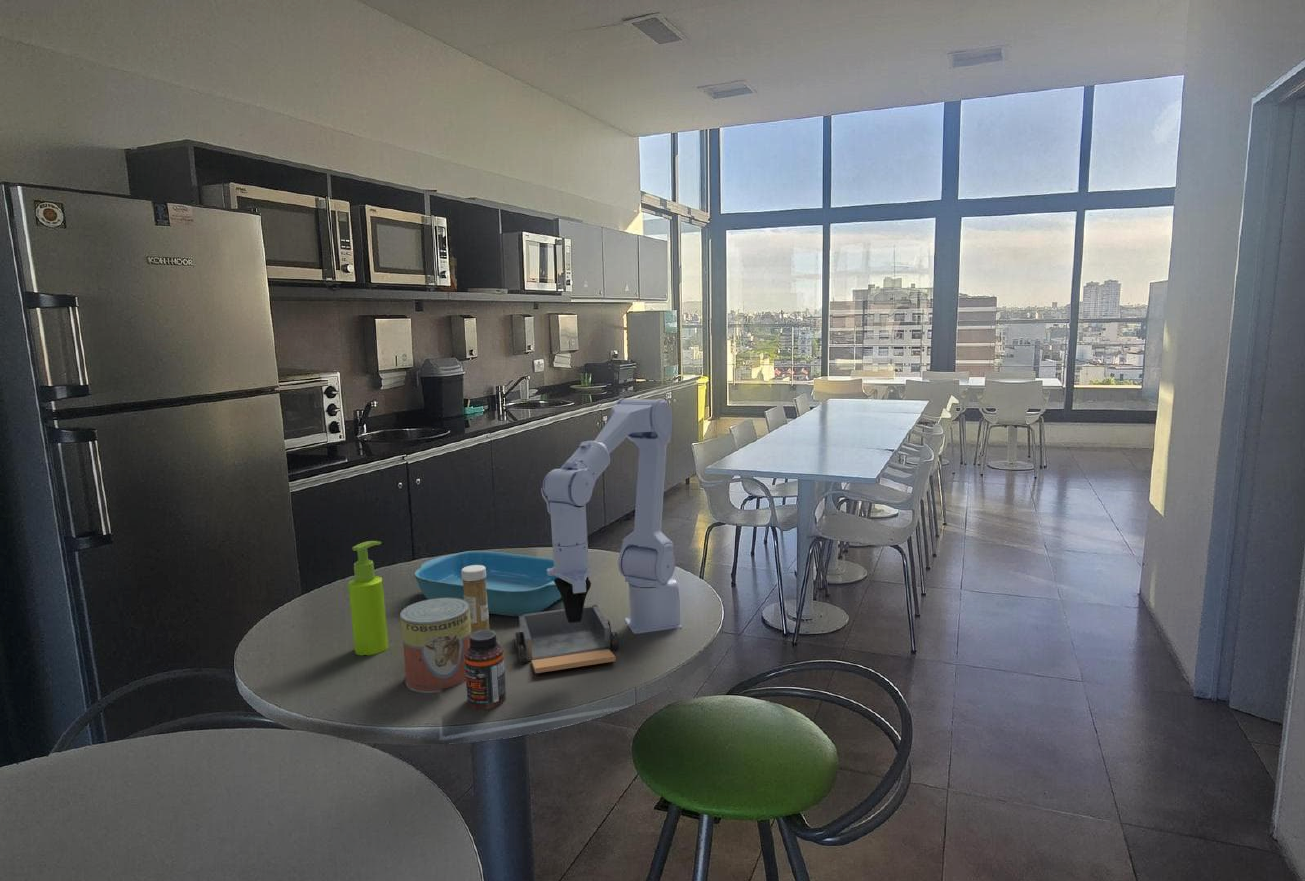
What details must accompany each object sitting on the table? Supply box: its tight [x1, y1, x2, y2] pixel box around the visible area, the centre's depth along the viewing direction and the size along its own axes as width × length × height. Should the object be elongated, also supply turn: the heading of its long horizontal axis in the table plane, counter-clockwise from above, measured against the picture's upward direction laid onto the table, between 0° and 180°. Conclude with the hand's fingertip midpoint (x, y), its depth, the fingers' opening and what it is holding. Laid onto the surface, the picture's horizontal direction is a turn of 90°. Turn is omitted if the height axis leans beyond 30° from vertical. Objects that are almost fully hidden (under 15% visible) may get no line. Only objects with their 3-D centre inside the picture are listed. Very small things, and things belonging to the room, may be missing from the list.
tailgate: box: [530, 649, 617, 674], centre depth 130 cm, size 14×1×6 cm
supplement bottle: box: [464, 629, 507, 710], centre depth 118 cm, size 6×6×11 cm
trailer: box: [514, 604, 620, 665], centre depth 139 cm, size 17×13×4 cm
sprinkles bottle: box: [461, 565, 491, 634], centre depth 144 cm, size 5×5×14 cm
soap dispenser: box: [347, 540, 389, 656], centre depth 140 cm, size 6×7×20 cm
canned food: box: [399, 598, 471, 694], centre depth 127 cm, size 11×11×12 cm
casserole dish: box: [413, 550, 562, 618], centre depth 165 cm, size 37×22×7 cm, turn 66°
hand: (574, 620), depth 126 cm, fingers closed
